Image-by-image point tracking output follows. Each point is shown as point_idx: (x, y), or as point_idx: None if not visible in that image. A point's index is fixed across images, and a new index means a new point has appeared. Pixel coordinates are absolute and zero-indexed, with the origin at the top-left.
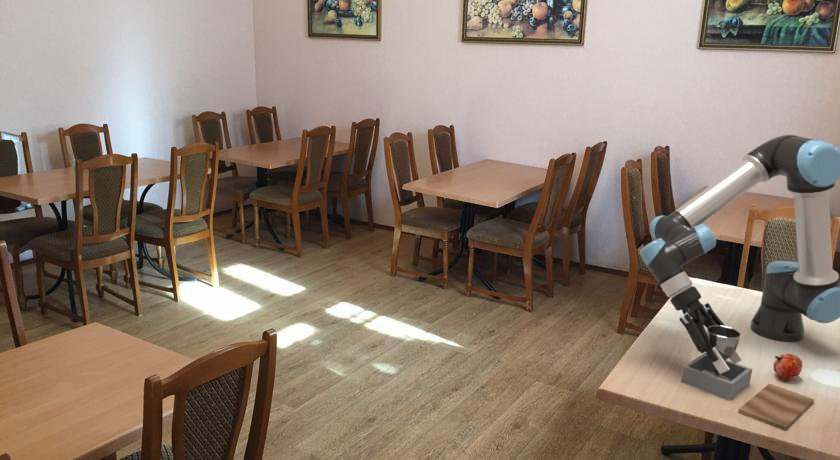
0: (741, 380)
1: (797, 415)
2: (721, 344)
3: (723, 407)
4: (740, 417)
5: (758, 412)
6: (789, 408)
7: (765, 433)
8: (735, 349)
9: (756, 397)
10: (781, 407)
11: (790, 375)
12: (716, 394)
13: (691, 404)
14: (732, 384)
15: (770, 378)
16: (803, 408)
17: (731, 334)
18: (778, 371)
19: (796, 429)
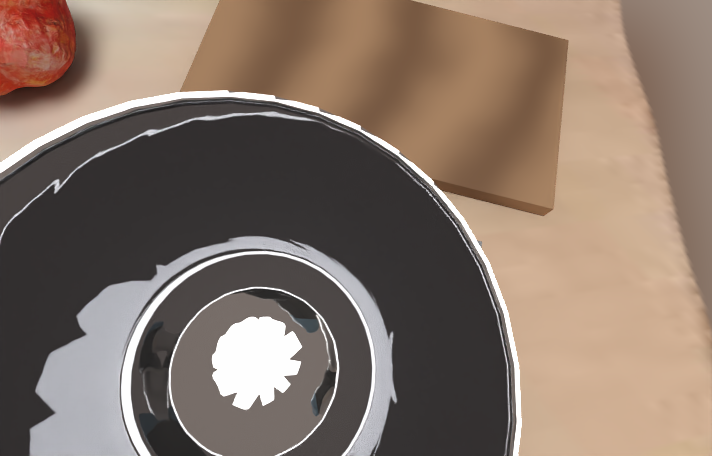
0: None
1: (438, 7)
2: (460, 345)
3: (542, 281)
4: (580, 202)
5: (525, 133)
6: (395, 32)
7: (633, 108)
8: (310, 207)
9: None
10: (408, 58)
11: (68, 13)
12: None
13: (631, 432)
14: (477, 241)
15: (59, 123)
16: None
17: (18, 270)
18: (46, 60)
19: (517, 21)
